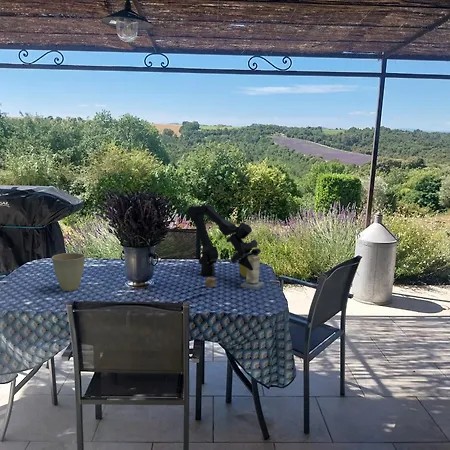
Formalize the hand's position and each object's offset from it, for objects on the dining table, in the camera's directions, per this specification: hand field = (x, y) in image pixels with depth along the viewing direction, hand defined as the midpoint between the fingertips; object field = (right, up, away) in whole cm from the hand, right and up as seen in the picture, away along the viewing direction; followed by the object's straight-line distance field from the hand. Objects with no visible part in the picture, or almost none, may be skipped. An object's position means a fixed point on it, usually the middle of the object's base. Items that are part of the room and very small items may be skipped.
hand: (255, 269), depth 226 cm
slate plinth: (-1, -9, +2) cm, 9 cm away
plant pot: (-89, -9, -10) cm, 90 cm away
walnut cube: (-22, -9, +1) cm, 24 cm away
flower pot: (-3, -6, +21) cm, 22 cm away
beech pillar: (-1, -6, +2) cm, 7 cm away
